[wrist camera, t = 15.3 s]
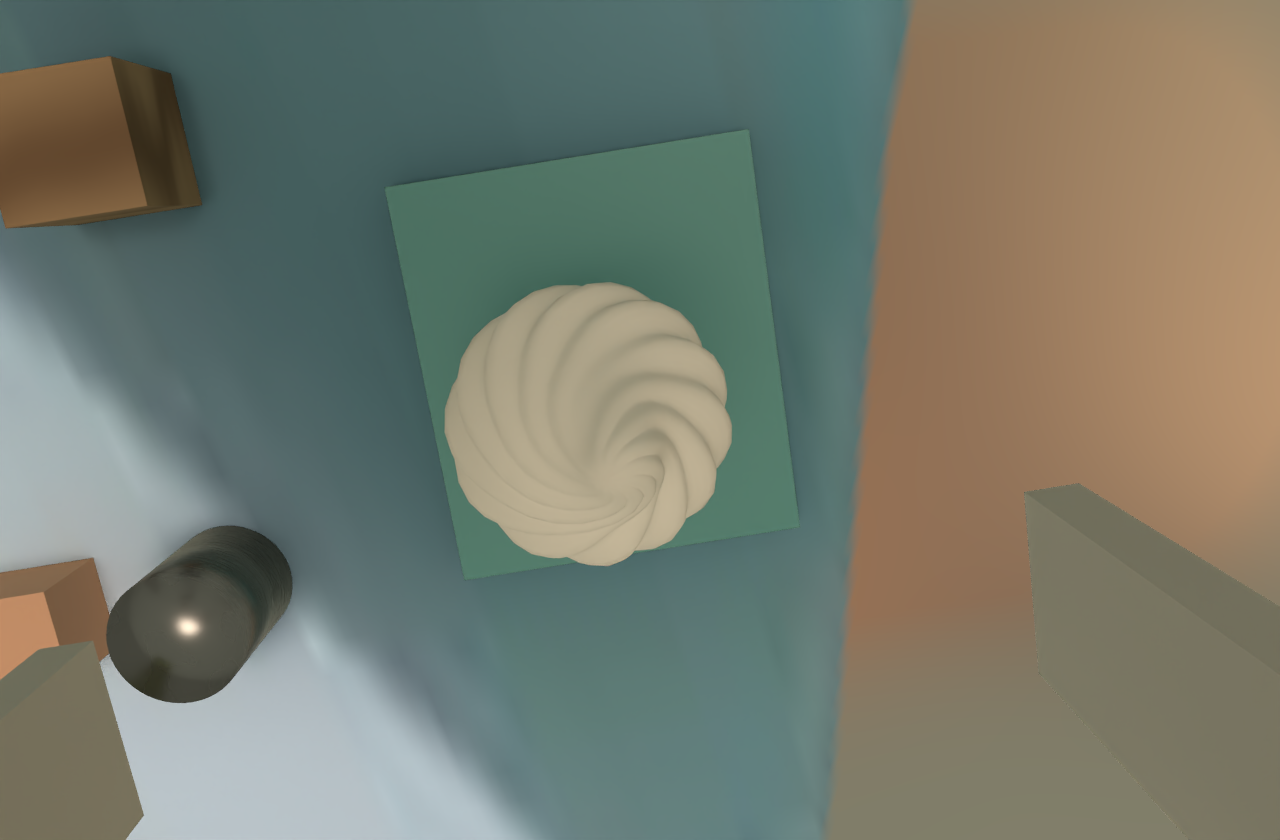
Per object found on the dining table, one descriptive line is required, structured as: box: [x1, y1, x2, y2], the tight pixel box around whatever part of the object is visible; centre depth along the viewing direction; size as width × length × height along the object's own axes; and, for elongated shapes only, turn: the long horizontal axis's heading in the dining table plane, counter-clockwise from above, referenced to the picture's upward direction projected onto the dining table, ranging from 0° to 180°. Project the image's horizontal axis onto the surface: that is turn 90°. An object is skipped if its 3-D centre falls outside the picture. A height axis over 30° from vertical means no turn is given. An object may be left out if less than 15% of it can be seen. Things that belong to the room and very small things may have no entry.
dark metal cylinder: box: [106, 526, 292, 703], centre depth 41 cm, size 5×5×6 cm
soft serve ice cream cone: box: [445, 282, 732, 566], centre depth 33 cm, size 8×8×16 cm
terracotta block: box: [0, 558, 110, 680], centre depth 42 cm, size 4×4×4 cm
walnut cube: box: [0, 56, 202, 228], centre depth 38 cm, size 5×5×5 cm
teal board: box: [384, 129, 800, 580], centre depth 42 cm, size 16×14×2 cm
